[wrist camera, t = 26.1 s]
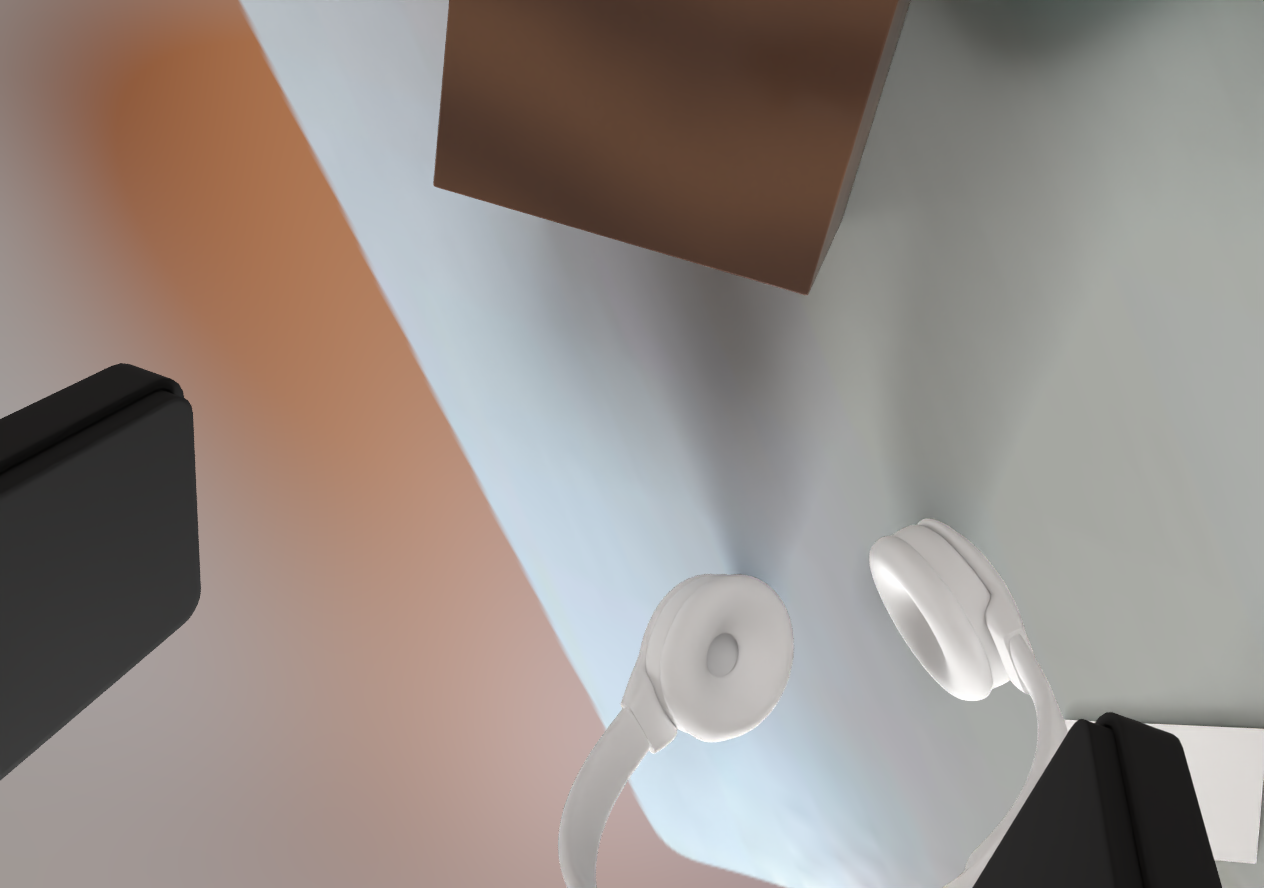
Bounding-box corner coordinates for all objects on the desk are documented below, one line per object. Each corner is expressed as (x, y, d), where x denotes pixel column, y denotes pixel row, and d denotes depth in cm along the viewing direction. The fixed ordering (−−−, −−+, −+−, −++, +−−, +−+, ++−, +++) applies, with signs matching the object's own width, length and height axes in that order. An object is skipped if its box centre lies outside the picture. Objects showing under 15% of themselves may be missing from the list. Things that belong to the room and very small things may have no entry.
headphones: (634, 564, 47) (448, 906, 30) (1013, 464, 39) (1053, 855, 22) (693, 677, 49) (551, 1056, 32) (1065, 604, 41) (1138, 1060, 24)
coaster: (1256, 863, 44) (1261, 877, 43) (1066, 846, 47) (1068, 859, 46) (1267, 728, 41) (1272, 741, 40) (1063, 719, 43) (1065, 731, 43)
